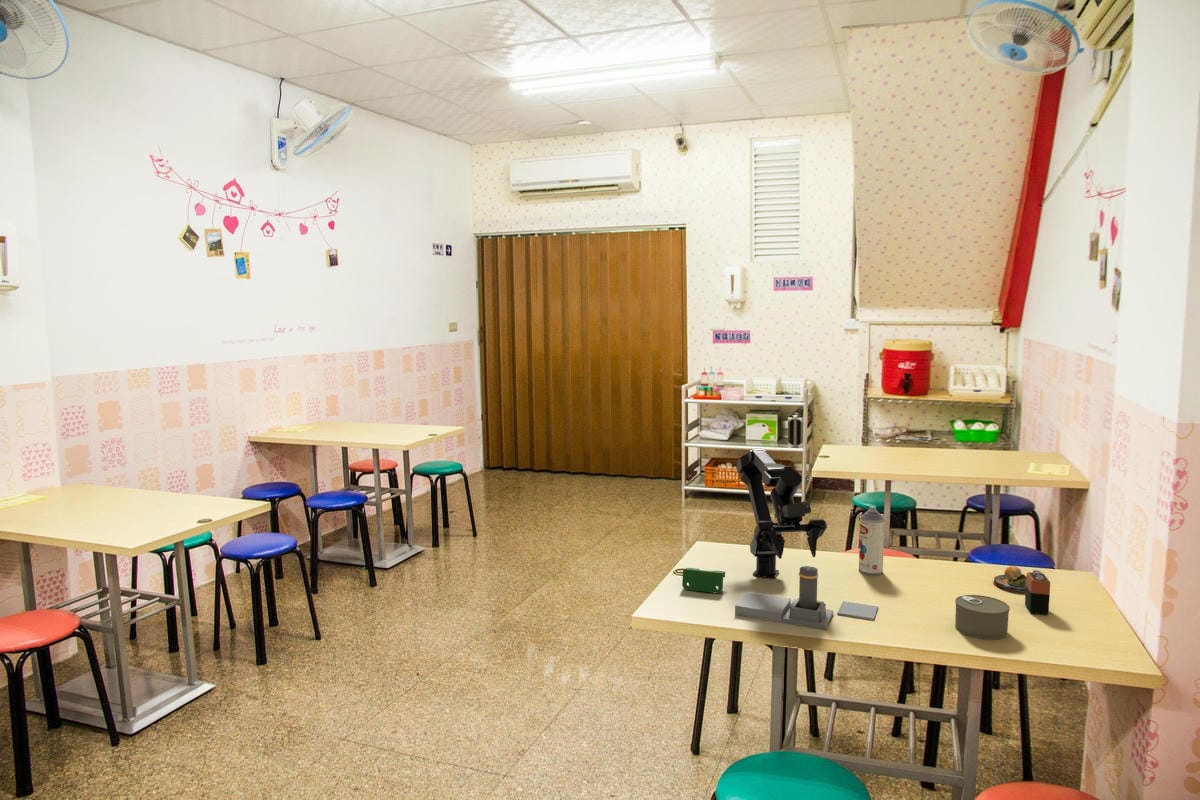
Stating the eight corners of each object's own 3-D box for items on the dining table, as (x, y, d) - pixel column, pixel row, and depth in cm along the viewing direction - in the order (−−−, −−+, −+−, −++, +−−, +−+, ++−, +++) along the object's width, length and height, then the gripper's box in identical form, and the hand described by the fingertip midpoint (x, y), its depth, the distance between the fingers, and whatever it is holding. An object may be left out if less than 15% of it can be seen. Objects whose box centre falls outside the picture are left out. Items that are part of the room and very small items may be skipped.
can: (983, 644, 186) (985, 616, 185) (943, 625, 197) (944, 599, 196) (1019, 635, 191) (1021, 608, 190) (978, 617, 202) (979, 591, 201)
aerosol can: (855, 568, 241) (857, 503, 238) (877, 567, 241) (880, 503, 238) (863, 575, 234) (865, 509, 232) (886, 575, 234) (888, 509, 232)
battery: (1042, 606, 209) (1044, 570, 208) (1048, 616, 202) (1051, 578, 201) (1024, 604, 210) (1026, 568, 209) (1029, 614, 204) (1032, 576, 203)
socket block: (746, 600, 215) (746, 588, 214) (833, 614, 205) (833, 601, 205) (734, 614, 205) (735, 601, 205) (825, 629, 195) (826, 615, 195)
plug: (800, 613, 206) (801, 565, 204) (818, 616, 203) (819, 567, 202) (796, 619, 201) (797, 570, 200) (815, 622, 199) (816, 573, 198)
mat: (842, 602, 213) (842, 601, 212) (878, 608, 209) (878, 606, 209) (837, 614, 204) (837, 612, 204) (873, 620, 201) (873, 618, 201)
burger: (1044, 597, 216) (1045, 570, 216) (996, 592, 221) (997, 566, 220) (1036, 582, 228) (1037, 557, 227) (991, 578, 232) (992, 553, 231)
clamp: (717, 603, 225) (731, 574, 225) (713, 605, 220) (727, 576, 219) (680, 582, 230) (694, 554, 229) (675, 583, 224) (690, 555, 224)
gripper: (757, 491, 211) (770, 544, 201) (825, 489, 213) (840, 541, 203) (748, 513, 220) (760, 564, 210) (813, 510, 222) (828, 561, 212)
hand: (797, 557), depth 209 cm, fingers open, 9 cm apart
